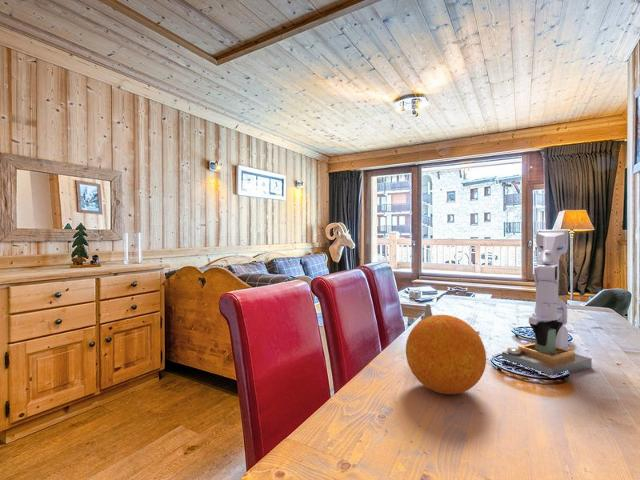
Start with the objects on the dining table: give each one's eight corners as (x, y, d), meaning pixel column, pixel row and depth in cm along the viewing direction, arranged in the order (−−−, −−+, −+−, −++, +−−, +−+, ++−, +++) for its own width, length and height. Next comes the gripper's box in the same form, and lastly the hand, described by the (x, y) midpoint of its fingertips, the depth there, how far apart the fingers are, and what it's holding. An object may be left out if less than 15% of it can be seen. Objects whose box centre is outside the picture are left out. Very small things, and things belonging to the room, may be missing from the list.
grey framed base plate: (539, 352, 121) (539, 338, 121) (591, 368, 106) (591, 352, 106) (502, 360, 112) (502, 345, 112) (552, 379, 98) (553, 362, 98)
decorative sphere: (502, 396, 87) (502, 318, 87) (452, 417, 77) (453, 329, 76) (437, 370, 104) (438, 305, 104) (390, 385, 93) (390, 312, 93)
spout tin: (542, 347, 112) (542, 323, 112) (555, 351, 108) (555, 326, 108) (535, 349, 110) (535, 324, 110) (547, 352, 107) (548, 327, 107)
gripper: (547, 298, 116) (546, 338, 116) (519, 301, 110) (519, 343, 110) (569, 302, 109) (569, 343, 110) (541, 305, 103) (541, 350, 103)
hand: (545, 344), depth 109 cm, fingers closed on spout tin, 4 cm apart
